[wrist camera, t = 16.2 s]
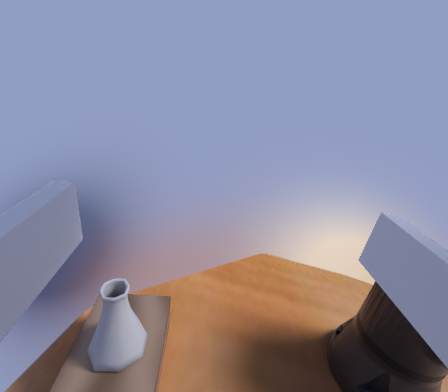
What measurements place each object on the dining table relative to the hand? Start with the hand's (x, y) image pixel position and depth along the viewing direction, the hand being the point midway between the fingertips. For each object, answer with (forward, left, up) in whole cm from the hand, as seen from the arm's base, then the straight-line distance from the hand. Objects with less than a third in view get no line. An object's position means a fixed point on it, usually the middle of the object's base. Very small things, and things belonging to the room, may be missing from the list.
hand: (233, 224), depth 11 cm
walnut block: (+10, -12, -34) cm, 37 cm away
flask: (+10, -12, -27) cm, 31 cm away
